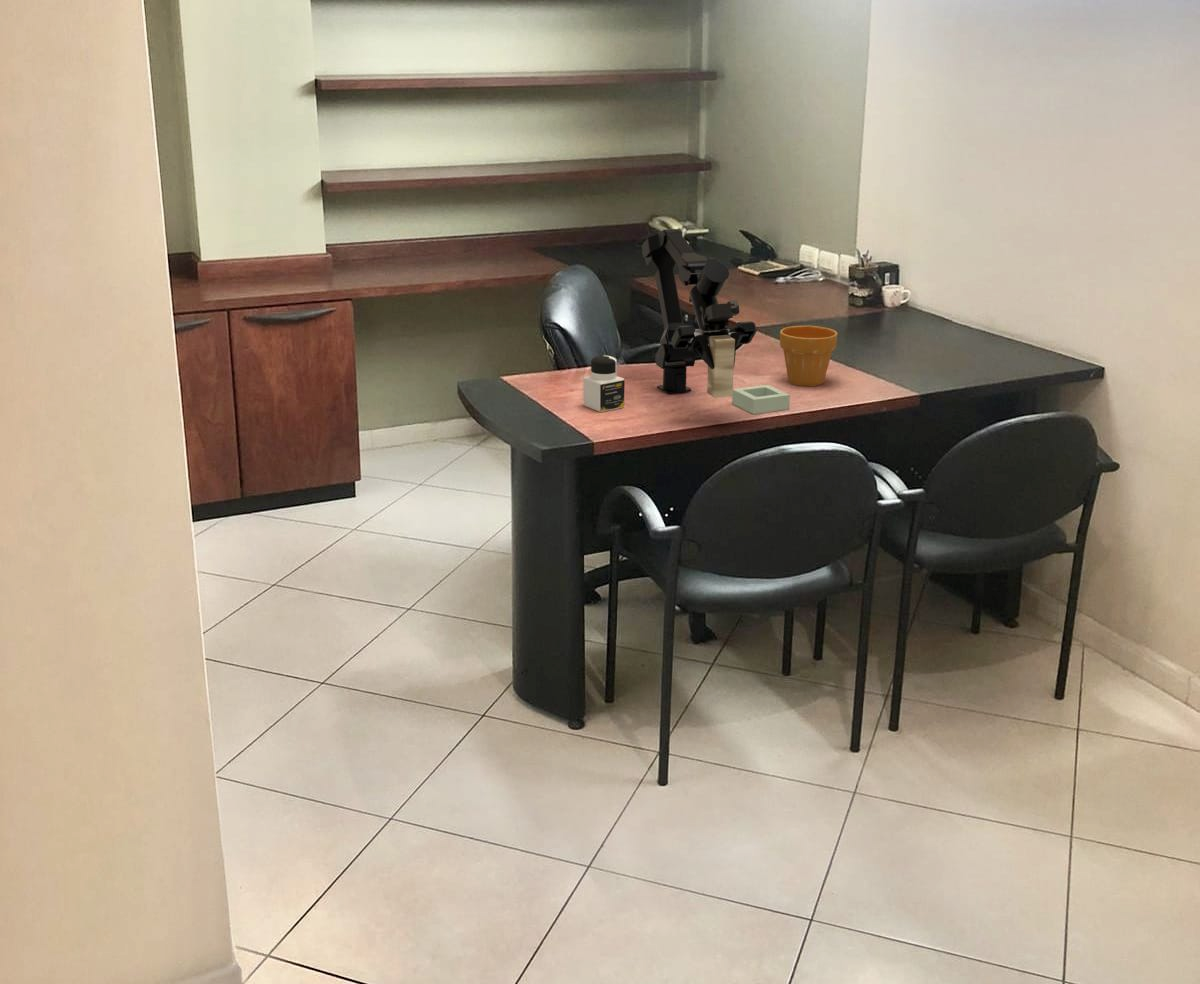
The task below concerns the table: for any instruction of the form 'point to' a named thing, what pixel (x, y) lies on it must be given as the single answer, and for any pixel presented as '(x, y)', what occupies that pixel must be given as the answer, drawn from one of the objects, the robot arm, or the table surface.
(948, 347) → the table surface
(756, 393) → the socket block
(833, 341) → the flower pot
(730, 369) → the maple peg
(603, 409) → the medicine bottle
